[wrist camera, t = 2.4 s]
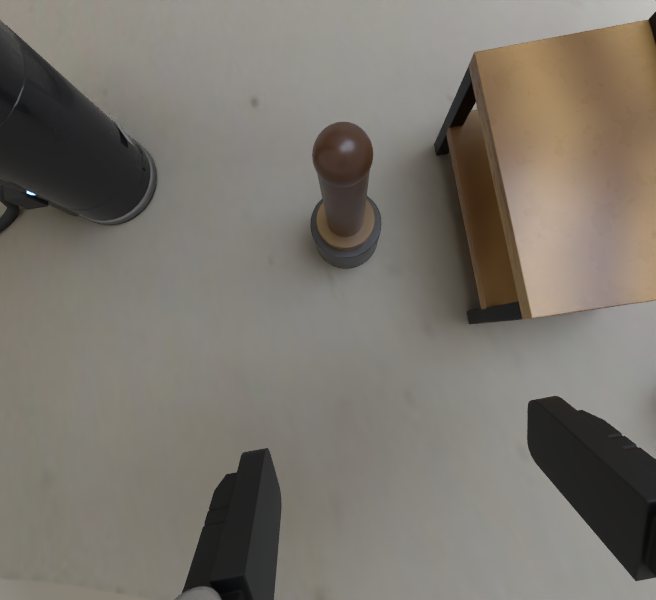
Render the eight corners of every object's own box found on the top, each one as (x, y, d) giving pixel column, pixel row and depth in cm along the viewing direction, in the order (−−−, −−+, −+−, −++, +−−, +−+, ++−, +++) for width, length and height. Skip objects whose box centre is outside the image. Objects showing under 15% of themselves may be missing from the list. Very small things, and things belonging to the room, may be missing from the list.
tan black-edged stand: (469, 324, 31) (543, 317, 19) (433, 144, 33) (481, 35, 21) (601, 304, 31) (763, 285, 19) (557, 122, 33) (678, -2, 21)
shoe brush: (320, 272, 33) (289, 208, 16) (311, 214, 34) (273, 93, 17) (381, 263, 33) (414, 186, 16) (371, 204, 33) (393, 70, 16)
